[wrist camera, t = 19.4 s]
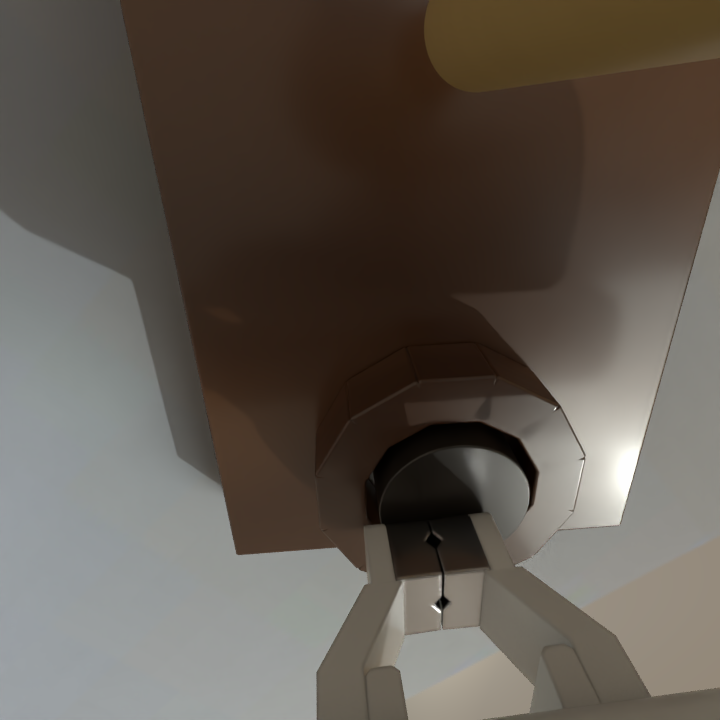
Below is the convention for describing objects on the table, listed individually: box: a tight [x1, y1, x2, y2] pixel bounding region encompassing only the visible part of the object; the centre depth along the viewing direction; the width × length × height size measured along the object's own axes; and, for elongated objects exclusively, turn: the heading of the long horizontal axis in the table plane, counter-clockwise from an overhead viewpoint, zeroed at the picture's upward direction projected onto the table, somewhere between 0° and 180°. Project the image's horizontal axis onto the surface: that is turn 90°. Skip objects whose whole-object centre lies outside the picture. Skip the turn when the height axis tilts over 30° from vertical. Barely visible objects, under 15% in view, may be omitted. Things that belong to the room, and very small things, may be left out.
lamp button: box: [373, 422, 530, 541], centre depth 12 cm, size 4×4×2 cm
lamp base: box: [120, 0, 720, 572], centre depth 12 cm, size 16×12×4 cm
